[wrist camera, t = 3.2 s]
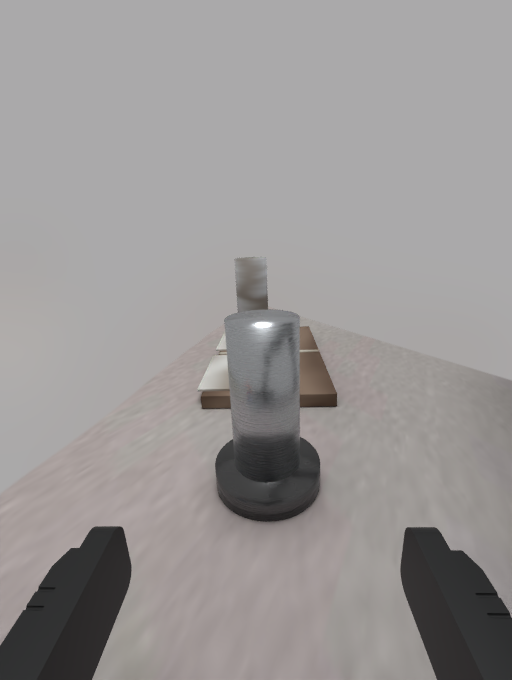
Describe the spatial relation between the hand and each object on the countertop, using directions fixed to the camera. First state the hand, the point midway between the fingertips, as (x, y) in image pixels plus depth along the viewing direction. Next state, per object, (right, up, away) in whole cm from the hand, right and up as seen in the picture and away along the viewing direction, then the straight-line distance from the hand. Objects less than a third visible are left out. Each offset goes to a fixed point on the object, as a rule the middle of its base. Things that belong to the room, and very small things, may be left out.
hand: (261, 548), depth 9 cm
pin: (+1, -3, +11) cm, 12 cm away
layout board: (+1, +3, +30) cm, 31 cm away
